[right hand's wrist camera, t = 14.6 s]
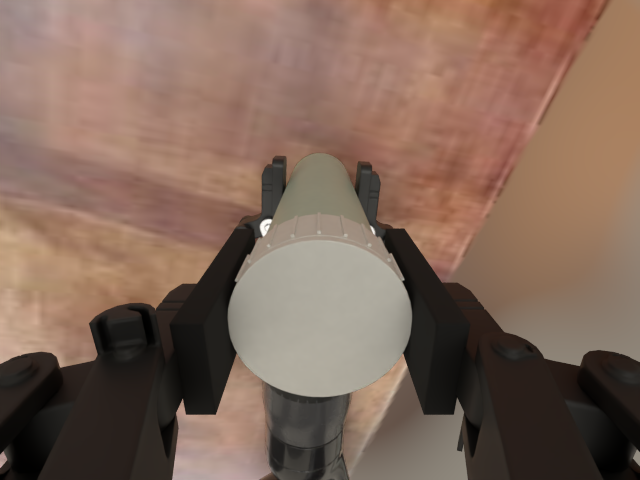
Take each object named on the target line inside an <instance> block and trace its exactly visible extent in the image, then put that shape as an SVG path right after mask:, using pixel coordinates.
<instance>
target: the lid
mask: <svg viewBox="0 0 640 480" xmlns="http://www.w3.org/2000/svg"><path fill="white" fill-rule="evenodd" d="M403 280H405V279H404V277H403V275H402V273H401V271H400V269H399V267H398V265H397V263H396V261H395V259H394V257H393V255H392V253H390V254H389V253H388V251H387V249H386V248H385V246H384V243H383V241H382V239H381V238H380V237H378V238H377V237H376V236H375V235H374V234H373V233H372V232H371V231H369V230H368V229H367V228H365V225H364V224H362V223H361V225H360V224H358V223H356V222H354V221H352V220H349V219H347V218H344V216H343V215H340V217H339V216H334V215H328V214H321V212H318V213H317V214H313V215H305V216H301V217H298V215H297V216H295V217H294V218H293V219H291V220H288V221H285V222H283V223H282V224H280V225H277V224H276V225H274V227H273V229H272V230H270V231H269V232H268V233H267V234H266V235H265V236H264V237H262V238H260V237H259V238H258V240H257V242H256V244H255V246H254V248H253V250H252V252H251V254H250V255H249V254H248V255H247V257H246V259H245V261H244V263H243V265H242V267H241V269H240V271H239V273H238V275H237V277H236V279H235V282H237V283H236V286H235V288H234V290H233V293H232V295H231V298H230V302H229V306H228V326H229V334H230V339H231V341H232V344H233V346H234V349H235V351H236V352H237V354H238V356H239V357H240V359H241V360H242V361H243V363H244V364H245V365H246V366H247V367H248V368H249V369H250V370H251V371H252V372H253V373H254V374H255V375H256V376H258V377H259V378H260V379H262V380H263V381H265V382H266V383H268V384H270V385H272V386H274V387H276V388H278V389H280V390H283V391H286V392H289V393H292V394H297V395H301V396H310V397H330V396H338V395H343V394H347V393H351V392H354V391H357V390H359V389H362V388H364V387H366V386H368V385H370V384H372V383H373V382H375V381H377V380H378V379H379V378H381V377H382V376H384V375H385V374H386V373H387V372H388V371H389V370H390V369H391V368H392V367H393V366H394V365H395V364H396V362H397V361H398V360H399V358H400V357H401V355H402V354H403V352H404V350H405V348H406V346H407V344H408V341H409V337H410V333H411V324H412V308H411V302H410V299H409V296H408V293H407V290H406V288H405V286H404V284H403V282H402V281H403Z"/></svg>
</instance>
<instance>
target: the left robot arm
mask: <svg viewBox="0 0 640 480" xmlns="http://www.w3.org/2000/svg"><path fill="white" fill-rule="evenodd" d="M285 189H286V156H275V157H274V158H273V162H272V164H268V165H267V166H266V167H265V169H264V171H263V174H262V213H260V214H258V215H255V216H245V217H243V218H242V219H241V221H240V223H239V225H238V226H237V227H236V228H235V229H254V233H255V238H258V237H262V236H263V237H264V236H265V235H266V233H267V231H268V229H269V226H270V224H271V222H272V219H273V217H274V215H275V212H276V210H277V208H278V205H279V203H280V200H281V198H282V196H283V193H284V191H285ZM379 191H380V179H379V176H378V174H377V173H376V172H375V171H372V165H371V164H370V163H369V162H361V161H358V166H357V175H356V185H355V192H356V194H357V196H358V199H359V201H360V203H361V206H362V208H363V210H364V213H365V215H366V218H367V220H368V222H369V225H370V227H371V229H372V232H373V234H374V235H375V236H376V237H377V238H378V237H380V238H381V239H382V241H383V243H385V230H386V229H393V228H392V226H390V225H388V224H382V223H380V222H378V221H376V215H377V207H378V198H379ZM235 229H234V230H235ZM233 232H234V231H233ZM351 398H352V392H351V393H347V394H343V395H338V396H330V397H310V396H301V395H297V394H292V393H289V392H286V391H283V390H280V389H278V388H276V387H274V386H272V385H270V384H268V383H266V382H265V381H263V402H264V408H265V452H266V459H267V463H268V466H269V468H270V470H271V473H269V474H268V475H266V476H264V477H263V478H261V479H260V480H350V478H349V475H348V471H347V467H346V461H345V457H344V452H343V438H344V430H345V421H346V416H347V413H348V410H349V407H350V403H351Z"/></svg>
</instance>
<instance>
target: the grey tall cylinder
mask: <svg viewBox="0 0 640 480" xmlns="http://www.w3.org/2000/svg"><path fill="white" fill-rule="evenodd" d="M318 212H321V214H328V215H334V216H339V217H340V215H343V216H344V218H347V219H349V220H352V221H354V222H356V223H358V224H360V225H361V223H362V224H364V225H365V228H367V229H368V230H369V231H371V232H372V229H371V227H370V225H369V222H368V220H367V218H366V215H365V213H364V210H363V208H362V206H361V203H360V201H359V199H358V196H357V194H356V192H355V189H354V187H353V185H352V182H351V180H350V177H349V175H348V173H347V170H346V168H345V167H344V165H343V164H342V163H341V162H340V161H339V160H338V159H337V158H335V157H334V156H332V155H329V154H325V153H315V154H311V155H308V156H306V157H304V158H303V159H302V160H300V161H299V162H298V164H297V165H296V166H295V168H294V170H293V172H292V174H291V177H290V179H289V182H288V184H287V186H286V189H285V191H284V193H283V196H282V198H281V200H280V203H279V205H278V208H277V210H276V212H275V215H274V217H273V219H272V222H271V224H270V226H269V229H268V231H267V233H268V232H269V231H270V230H272V229H273V227H274V225H276V224H277V225H280V224H282V223H283V222H285V221H288V220H291V219H293V218H294V217H295V216H297V215H298V217H301V216H305V215H313V214H317V213H318ZM267 233H266V234H267ZM372 233H373V232H372Z"/></svg>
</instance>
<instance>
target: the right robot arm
mask: <svg viewBox="0 0 640 480" xmlns="http://www.w3.org/2000/svg"><path fill="white" fill-rule="evenodd" d="M254 246H255V233H254V229H235V230H234V232H233V233H232V234H231V236H230V237H229V239H228V240H227V242H226V243H225V244H224V246H223V247H222V249H221V250H220V252H219V253H218V255H217V256H216V257H215V259H214V260H213V262H212V263H211V265H210V266H209V268H208V269H207V270H206V272H205V273H204V275H203V276H202V278H201V279H200V280H199V282H198V283H197V284H182V285H180V286H178V287H177V288H175V289H174V290H172V291H170V292H169V293H168V295H167V296H166V297H165V298H164V300H163V301H162V303H160V305H159V306H158V307H157V308H156V311H155V308H153V307H152V306H151V305H149V304H144V303H129V304H125V305H120V306H116V307H114V308H111V309H108V310H106V311H104V312H102V313H101V314H99V315H97V316H96V317H95V318H94V319H93V320H92V321H91V322H90V323H89V325H90V329H91V332H92V336H93V339H94V343H95V346H96V350H97V353H98V356H97V358H96V360H94V361H91V362H86V363H81V364H76V365H72V366H67V367H62V368H60V366H59V363H58V360H57V357H56V356H54V355H53V354H52V353H47V352H36V353H28V354H24V355H21V356H17V357H14V358H11V359H10V360H8V361H6V362H4V363H2V364H0V454H1V453H2V452H3V451H4V453H5V455H6V457H7V461H6V462H5V464H4V465H3V466H2V467H1V468H0V480H172V476H173V468H174V460H175V452H176V444H177V436H178V421H177V416H176V412H177V410H178V407H179V405H180V403H181V401H182V399H183V401H184V406H185V412H186V415H216V412H217V410H218V407H219V404H220V401H221V398H222V395H223V392H224V389H225V386H226V383H227V380H228V377H229V374H230V371H231V368H232V365H233V362H234V359H235V356H236V353H237V352H236V351H235V349H234V346H233V344H232V341H231V339H230V334H229V326H228V306H229V302H230V298H231V295H232V293H233V290H234V288H235V286H236V283H237V282H235V279H236V277H237V275H238V273H239V271H240V269H241V267H242V265H243V263H244V261H245V259H246V257H247V255H248V254H249V255H250V254H251V252H252V250H253V248H254ZM384 246H385V248H386V249H387V251H388V253H389V254H390V253H392V255H393V257H394V259H395V261H396V263H397V265H398V267H399V269H400V271H401V273H402V275H403V277H404V279H405V280H403V281H402V282H403V284H404V286H405V288H406V290H407V293H408V296H409V299H410V302H411V308H412V324H411V333H410V337H409V341H408V344H407V346H406V348H405V350H404V352H403V354H404V357H405V360H406V363H407V366H408V369H409V372H410V375H411V378H412V381H413V384H414V386H415V389H416V392H417V395H418V398H419V401H420V404H421V407H422V410H423V413H424V415H453V414H454V410H455V405H456V400H457V398H458V400H459V402H460V404H461V406H462V408H463V410H464V416H463V421H462V426H461V431H460V436H459V441H458V447H457V450H458V451H462V448H463V444H464V451H465V459H466V467H467V475H468V480H640V466H639V465H638V464H637V463H636V462H635V460H634V459H633V457H634V454H635V452H636V450H637V449H638V451H639V452H640V362H638V361H636V360H634V359H632V358H630V357H628V356H625V355H622V354H619V353H615V352H609V351H601V350H597V351H589V352H588V353H586V354H585V355H584V356H583V359H582V362H581V365H580V366H576V365H571V364H566V363H561V362H556V361H552V360H548V359H544V357H543V355H542V353H541V352H540V351H539V350H538V348H537V347H536V346H534V345H533V344H532V343H530V342H529V341H527V340H525V339H523V338H521V337H518V336H516V335H513V334H509V333H505V332H504V331H503V330H502V329H501V328H500V327H499V325H498V324H497V323H496V322H495V320H494V319H493V318H492V317H491V316H490V314H489V313H488V312H487V311H486V310H485V309H484V307H483V306H482V305H481V303H480V302H478V300H477V298H476V297H475V296H474V295H473V294H472V292H471V291H470V290H468V289H467V288H465V287H463V286H462V285H460V284H459V283H442V282H441V281H440V279H439V278H438V276H437V275H436V274H435V272H434V271H433V269H432V268H431V266H430V265H429V264H428V262H427V261H426V259H425V258H424V256H423V255H422V253H421V252H420V251H419V249H418V248H417V246H416V245H415V243H414V242H413V240H412V239H411V238H410V236H409V235H408V233H407V232H406V230H405V229H386V230H385V243H384Z"/></svg>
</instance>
